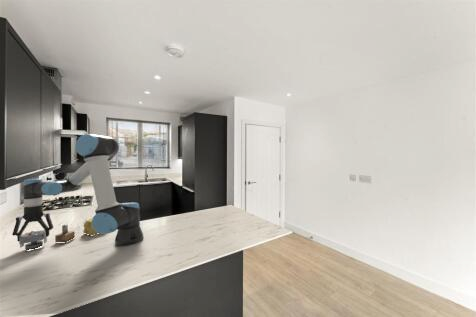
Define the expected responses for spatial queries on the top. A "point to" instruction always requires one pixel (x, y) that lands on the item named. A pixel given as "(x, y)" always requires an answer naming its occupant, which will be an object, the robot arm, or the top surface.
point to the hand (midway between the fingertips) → (34, 244)
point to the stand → (64, 235)
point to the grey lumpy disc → (31, 237)
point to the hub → (33, 243)
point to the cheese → (89, 227)
